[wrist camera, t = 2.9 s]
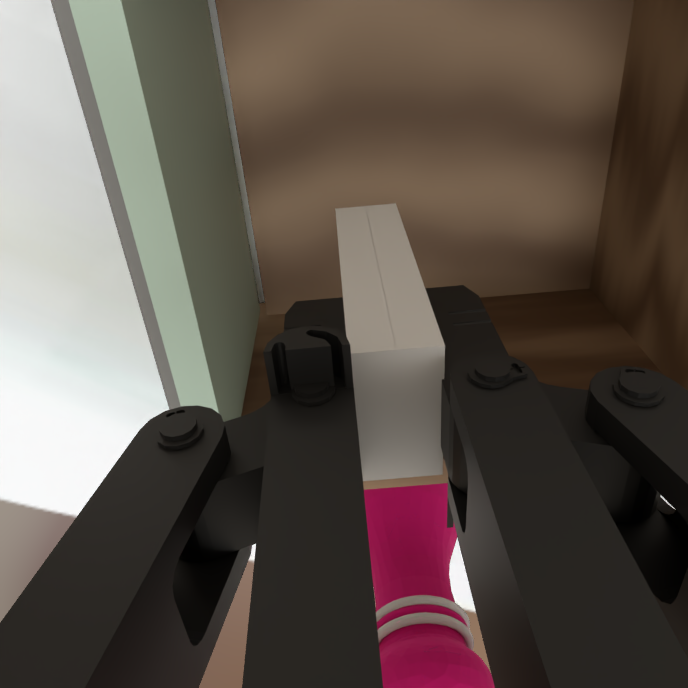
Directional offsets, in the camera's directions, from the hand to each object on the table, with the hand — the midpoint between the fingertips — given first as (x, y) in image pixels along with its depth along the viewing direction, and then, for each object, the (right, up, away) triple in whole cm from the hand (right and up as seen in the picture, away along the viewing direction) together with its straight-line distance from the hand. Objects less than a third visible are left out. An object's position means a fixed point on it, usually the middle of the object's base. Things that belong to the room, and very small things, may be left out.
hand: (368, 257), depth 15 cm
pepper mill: (+3, -10, +25) cm, 27 cm away
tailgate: (-6, +7, +12) cm, 15 cm away
